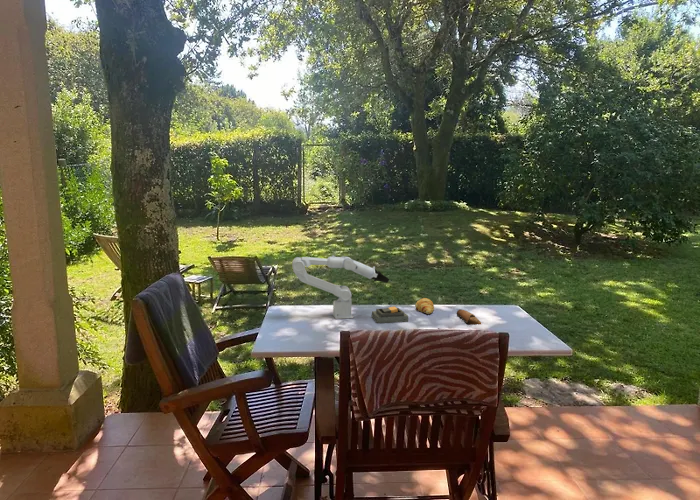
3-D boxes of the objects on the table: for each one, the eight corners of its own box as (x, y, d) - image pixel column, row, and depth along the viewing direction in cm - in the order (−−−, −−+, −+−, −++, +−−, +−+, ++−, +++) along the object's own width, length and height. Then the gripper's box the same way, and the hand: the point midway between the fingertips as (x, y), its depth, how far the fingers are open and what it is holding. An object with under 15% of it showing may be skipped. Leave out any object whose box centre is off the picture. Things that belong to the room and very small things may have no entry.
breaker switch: (384, 314, 269) (384, 311, 269) (382, 311, 274) (381, 309, 274) (397, 311, 271) (397, 308, 270) (394, 309, 276) (394, 306, 275)
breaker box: (377, 323, 266) (378, 314, 265) (371, 316, 277) (371, 308, 276) (408, 321, 269) (408, 313, 268) (400, 315, 281) (401, 307, 280)
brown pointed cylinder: (483, 324, 266) (477, 313, 264) (472, 331, 266) (465, 320, 264) (471, 314, 283) (465, 304, 282) (460, 321, 283) (454, 311, 282)
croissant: (434, 321, 282) (441, 308, 281) (418, 313, 281) (425, 300, 280) (424, 310, 303) (431, 298, 302) (409, 302, 301) (416, 290, 300)
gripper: (368, 263, 267) (392, 274, 269) (363, 261, 282) (386, 271, 284) (363, 276, 267) (387, 287, 269) (358, 274, 281) (381, 283, 284)
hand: (386, 280), depth 277 cm, fingers open, 7 cm apart
